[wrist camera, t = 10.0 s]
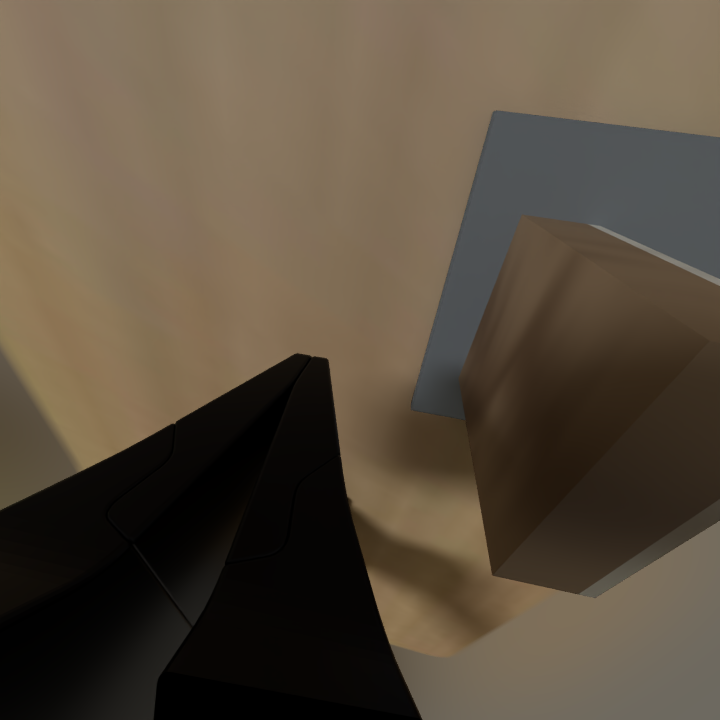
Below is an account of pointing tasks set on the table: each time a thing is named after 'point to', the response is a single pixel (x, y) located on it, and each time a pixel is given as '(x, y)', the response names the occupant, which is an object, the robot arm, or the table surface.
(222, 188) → the table surface
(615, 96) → the table surface
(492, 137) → the mat
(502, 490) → the tile
